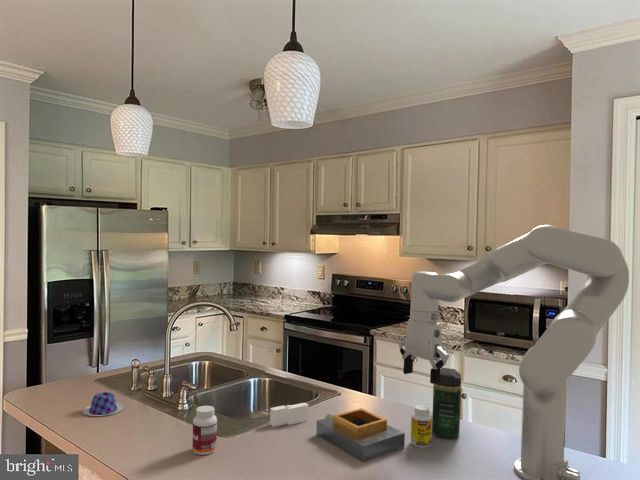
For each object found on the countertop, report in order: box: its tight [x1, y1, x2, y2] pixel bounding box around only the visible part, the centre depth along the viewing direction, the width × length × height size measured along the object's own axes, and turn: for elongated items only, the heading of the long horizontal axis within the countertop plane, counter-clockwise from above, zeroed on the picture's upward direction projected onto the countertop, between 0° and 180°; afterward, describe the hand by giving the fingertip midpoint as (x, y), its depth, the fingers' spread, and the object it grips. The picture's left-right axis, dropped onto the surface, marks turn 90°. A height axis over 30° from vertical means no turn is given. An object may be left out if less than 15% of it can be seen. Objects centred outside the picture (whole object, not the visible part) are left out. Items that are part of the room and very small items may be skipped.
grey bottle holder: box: [315, 407, 406, 463], centre depth 135 cm, size 24×15×6 cm, turn 37°
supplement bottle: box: [410, 404, 432, 449], centre depth 133 cm, size 6×6×10 cm
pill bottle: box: [191, 405, 218, 456], centre depth 125 cm, size 6×6×11 cm
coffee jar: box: [431, 367, 462, 440], centre depth 141 cm, size 10×8×19 cm
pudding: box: [82, 391, 125, 417], centre depth 152 cm, size 12×12×5 cm
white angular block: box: [269, 402, 310, 428], centre depth 146 cm, size 15×11×6 cm
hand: (421, 377), depth 133 cm, fingers open, 9 cm apart
